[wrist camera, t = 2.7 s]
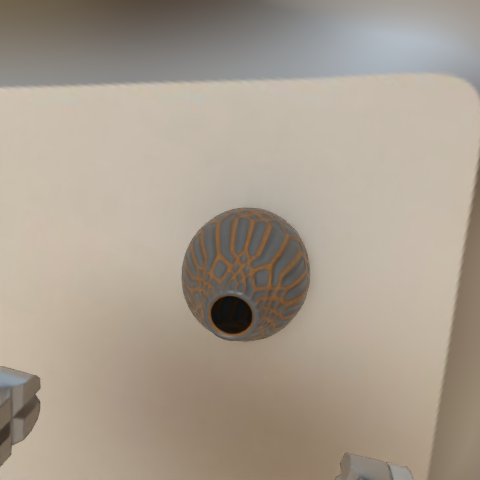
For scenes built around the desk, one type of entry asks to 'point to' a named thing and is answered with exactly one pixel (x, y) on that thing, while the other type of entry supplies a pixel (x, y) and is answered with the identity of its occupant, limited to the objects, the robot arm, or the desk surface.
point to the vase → (245, 274)
